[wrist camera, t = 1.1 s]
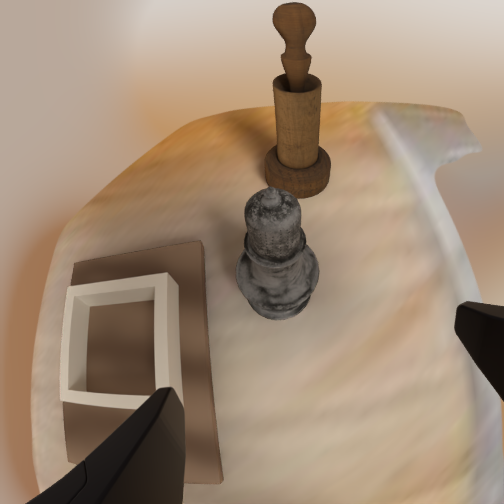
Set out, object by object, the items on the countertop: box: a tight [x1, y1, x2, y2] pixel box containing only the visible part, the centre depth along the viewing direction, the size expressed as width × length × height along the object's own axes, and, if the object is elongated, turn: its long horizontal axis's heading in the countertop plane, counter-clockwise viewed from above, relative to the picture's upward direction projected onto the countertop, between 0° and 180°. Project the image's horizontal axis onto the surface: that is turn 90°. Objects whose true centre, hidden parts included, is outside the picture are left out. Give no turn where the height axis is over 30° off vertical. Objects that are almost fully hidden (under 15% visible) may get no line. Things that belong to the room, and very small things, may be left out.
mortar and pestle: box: [265, 2, 331, 198], centre depth 21 cm, size 7×6×18 cm
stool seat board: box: [60, 240, 224, 484], centre depth 19 cm, size 20×14×4 cm
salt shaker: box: [236, 187, 319, 320], centre depth 18 cm, size 6×6×12 cm
